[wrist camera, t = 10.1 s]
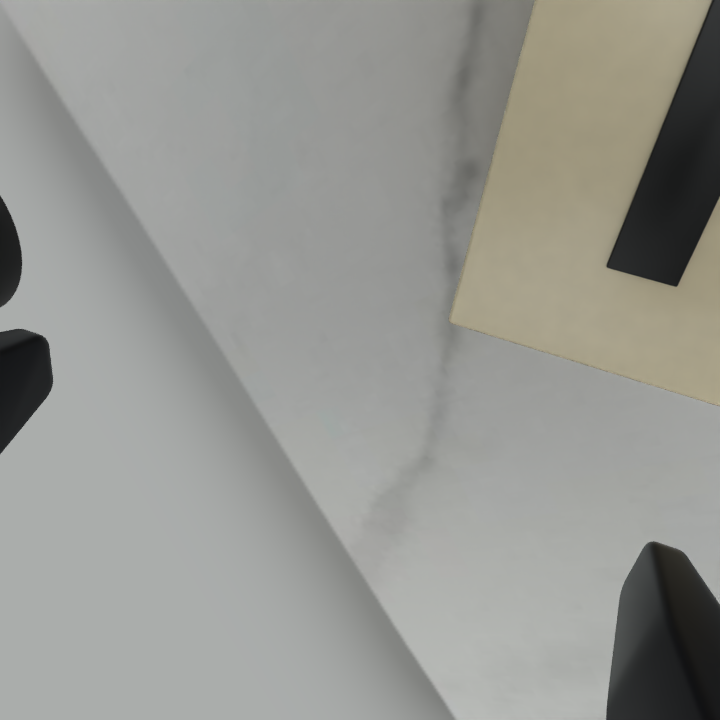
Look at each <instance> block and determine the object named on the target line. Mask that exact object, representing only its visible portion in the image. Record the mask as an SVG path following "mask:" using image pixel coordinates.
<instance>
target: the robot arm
mask: <svg viewBox="0 0 720 720" xmlns="http://www.w3.org/2000/svg"><path fill="white" fill-rule="evenodd" d="M52 384H53V375H52V367H51V358H50V349H49V344H48V342H47V340H46V338H44V337H43V336H42V335H39V334H36V333H33V332H30V331H27V330H24V329H14V330H9V331H4V332H0V454H1V453H2V451H3V450H4V449H5V447H6V446H7V445H8V444H9V443H10V441H11V440H12V439H13V438H14V437H15V435H16V434H17V433H18V432H19V431H20V429H21V428H22V427H23V426H24V424H25V423H26V422H27V421H28V420H29V418H30V417H31V416H32V415H33V413H34V412H35V411H36V410H37V408H38V407H39V406H40V405H41V404H42V403H43V401H44V400H45V399H46V398H47V396H48V395H49V392H50V391H51V388H52ZM606 720H720V604H719V603H718V601H717V600H716V598H715V597H714V595H713V594H712V592H711V591H710V590H709V588H708V587H707V585H706V584H705V582H704V581H703V579H702V578H701V576H700V575H699V573H698V572H697V570H696V569H695V567H694V566H693V565H692V563H691V562H690V560H689V559H688V557H687V556H686V555H685V554H684V553H683V552H682V551H680V550H678V549H676V548H673V547H670V546H667V545H664V544H661V543H658V542H654V541H653V542H649V543H647V544H646V545H645V546H644V548H643V550H642V551H641V553H640V555H639V557H638V559H637V560H636V562H635V564H634V566H633V568H632V569H631V571H630V573H629V575H628V577H627V578H626V580H625V582H624V585H623V587H622V591H621V595H620V600H619V608H618V616H617V624H616V633H615V641H614V649H613V657H612V666H611V674H610V682H609V691H608V701H607V715H606Z"/></svg>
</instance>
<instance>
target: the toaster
mask: <svg viewBox="0 0 720 720" xmlns="http://www.w3.org/2000/svg"><path fill="white" fill-rule="evenodd" d="M449 322H450V323H452V324H455V325H458V326H461V327H465V328H468V329H471V330H474V331H478V332H481V333H484V334H487V335H490V336H494V337H497V338H500V339H503V340H507V341H510V342H513V343H516V344H520V345H523V346H526V347H529V348H533V349H536V350H539V351H542V352H546V353H549V354H552V355H555V356H558V357H562V358H565V359H568V360H571V361H575V362H578V363H581V364H584V365H588V366H591V367H594V368H597V369H601V370H604V371H607V372H610V373H614V374H617V375H620V376H623V377H626V378H630V379H633V380H636V381H639V382H643V383H646V384H649V385H652V386H656V387H659V388H662V389H665V390H669V391H672V392H675V393H678V394H682V395H685V396H688V397H691V398H694V399H698V400H701V401H704V402H707V403H711V404H714V405H717V406H720V0H535V1H534V5H533V9H532V12H531V16H530V20H529V23H528V27H527V31H526V34H525V38H524V42H523V45H522V49H521V53H520V57H519V60H518V64H517V68H516V71H515V75H514V79H513V82H512V86H511V90H510V94H509V97H508V101H507V105H506V108H505V112H504V116H503V119H502V123H501V127H500V130H499V134H498V138H497V142H496V145H495V149H494V153H493V156H492V160H491V164H490V167H489V171H488V175H487V179H486V182H485V186H484V190H483V193H482V197H481V201H480V204H479V208H478V212H477V215H476V219H475V223H474V227H473V230H472V234H471V238H470V241H469V245H468V249H467V252H466V256H465V260H464V264H463V267H462V271H461V275H460V278H459V282H458V286H457V289H456V293H455V297H454V300H453V304H452V308H451V312H450V315H449Z"/></svg>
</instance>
